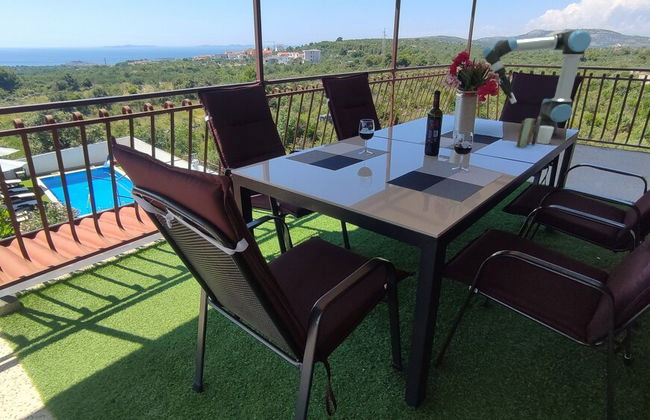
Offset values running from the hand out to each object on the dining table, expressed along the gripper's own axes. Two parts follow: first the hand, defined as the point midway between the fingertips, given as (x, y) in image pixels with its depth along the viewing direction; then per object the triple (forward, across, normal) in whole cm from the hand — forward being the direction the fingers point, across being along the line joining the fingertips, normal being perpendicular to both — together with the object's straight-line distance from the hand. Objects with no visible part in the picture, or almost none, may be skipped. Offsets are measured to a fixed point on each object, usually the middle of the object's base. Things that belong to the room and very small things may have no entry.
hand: (514, 102), depth 238 cm
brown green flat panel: (+25, +18, +2) cm, 31 cm away
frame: (+27, +18, +3) cm, 32 cm away
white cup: (+31, +2, +6) cm, 32 cm away
